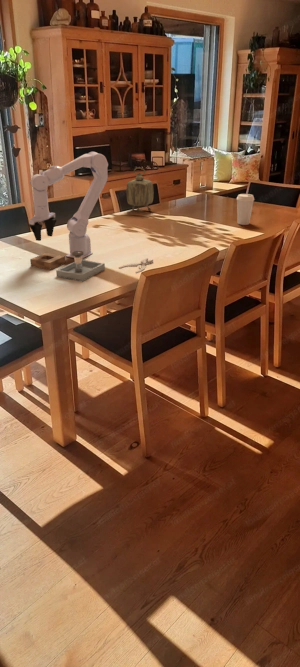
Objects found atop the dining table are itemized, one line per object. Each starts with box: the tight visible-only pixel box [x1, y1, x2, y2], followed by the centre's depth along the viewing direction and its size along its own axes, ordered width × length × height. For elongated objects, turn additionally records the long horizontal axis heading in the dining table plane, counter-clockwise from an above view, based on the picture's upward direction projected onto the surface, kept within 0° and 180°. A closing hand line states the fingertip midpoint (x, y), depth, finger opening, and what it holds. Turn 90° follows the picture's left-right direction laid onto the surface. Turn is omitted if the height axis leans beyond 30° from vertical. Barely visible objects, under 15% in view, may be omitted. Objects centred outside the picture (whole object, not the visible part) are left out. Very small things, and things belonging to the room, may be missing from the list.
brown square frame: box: [30, 252, 66, 271], centre depth 207 cm, size 10×10×3 cm
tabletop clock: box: [125, 166, 155, 213], centre depth 293 cm, size 14×9×25 cm, turn 66°
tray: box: [55, 259, 106, 282], centre depth 198 cm, size 16×12×2 cm
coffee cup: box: [236, 193, 255, 226], centre depth 269 cm, size 10×10×15 cm
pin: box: [72, 251, 83, 273], centre depth 197 cm, size 4×4×8 cm
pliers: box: [118, 257, 154, 274], centre depth 206 cm, size 10×2×15 cm
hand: (44, 238), depth 209 cm, fingers open, 7 cm apart
